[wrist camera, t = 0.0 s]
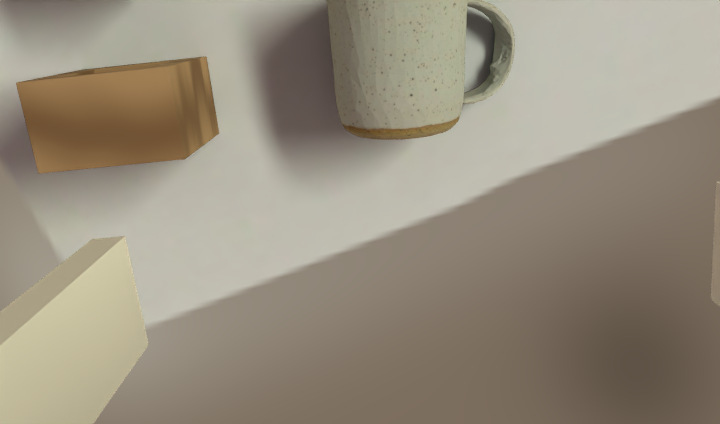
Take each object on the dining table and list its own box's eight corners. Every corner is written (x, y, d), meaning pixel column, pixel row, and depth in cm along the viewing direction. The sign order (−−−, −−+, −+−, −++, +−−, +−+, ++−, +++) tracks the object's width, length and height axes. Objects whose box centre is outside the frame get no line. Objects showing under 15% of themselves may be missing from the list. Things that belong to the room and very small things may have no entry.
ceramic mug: (341, 125, 42) (335, 149, 35) (329, -12, 40) (320, -17, 33) (509, 112, 42) (539, 134, 35) (508, -26, 40) (540, -34, 32)
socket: (80, 70, 42) (16, 82, 34) (206, 56, 41) (168, 66, 34) (97, 145, 43) (38, 173, 36) (219, 133, 43) (184, 159, 35)
